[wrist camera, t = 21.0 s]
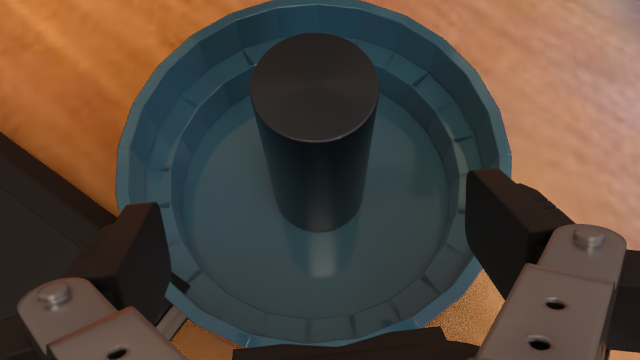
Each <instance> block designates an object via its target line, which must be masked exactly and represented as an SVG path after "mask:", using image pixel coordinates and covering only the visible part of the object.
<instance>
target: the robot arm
mask: <svg viewBox="0 0 640 360" xmlns="http://www.w3.org/2000/svg"><path fill="white" fill-rule="evenodd" d="M465 233H466V239H467V243H468V246H469V248H470V250H471V251H472V253H473V254H474V256H475V257H476V258H477V260H478V261H479V263H480V264H481V266H482V267H483V269H484V270H485V272H486V273H487V275H488V276H489V278H490V279H491V281H492V282H493V284H494V285H495V286H496V288H497V289H498V291H499V292H500V294H501V295H502V297H503V298H504V300H505V302H504V304H503V306H502V308H501V310H500V312H499V313H498V315H497V317H496V319H495V321H494V323H493V325H492V326H491V328H490V330H489V332H488V334H487V336H486V338H485V339H484V341H483V343H482V345H481V347H480V346H477V345H472V344H468V343H463V342H456V341H447V340H446V338H445V336H444V333H443V331H442V329H441V327H440V326H438V327H429V328H420V329H412V330H403V331H394V332H388V333H385V334H381V335H378V336H375V337H371V338H368V339H365V340H361V341H358V342H355V343H351V344H348V345H344V346H339V347H329V346H313V345H297V344H278V345H269V346H260V347H251V348H242V349H233V356H232V360H609V358H610V352H611V350H619V351H628V352H638V353H640V251H635V250H627V249H626V245H627V243H626V241H625V239H624V238H623V237H622V236H621V235H619V234H618V233H616V232H614V231H612V230H609V229H607V228H603V227H600V226H595V225H588V224H576V223H574V222H573V221H572V220H571V219H570V218H569V217H567V216H566V215H565V214H564V213H563V212H562V211H561V210H559V209H558V208H557V209H556V206H555V205H554V204H552V203H551V202H550V201H548V199H547V198H546V197H544V196H543V195H542V194H541V193H540V192H539V191H537V190H535V189H533V188H530V187H528V186H526V185H523V184H521V183H520V184H516V183H515V182H514V181H512V180H511V179H510V178H509V177H508V176H507V175H506V174H505V173H504V172H503V171H502V170H500V169H499V168H490V169H480V170H470V171H469V172H468V173H467V177H466V201H465ZM170 279H171V258H170V253H169V248H168V243H167V239H166V234H165V229H164V224H163V219H162V215H161V210H160V207H159V205H158V203H157V202H149V203H139V204H129V205H126V206H125V207H124V209H123V210H122V212H121V213H120V215H119V216H118V218H117V220H116V221H115V223H114V224H113V225H106V226H105V227H103V228H102V229H100V230H99V231H98V232H96V233H95V234H93V235H92V236H91V237H90V239H89V240H88V242H87V243H86V244H85V246H84V249H82V250H81V252H80V253H79V255H78V258H76V259H75V260H74V262H73V263H72V265H71V266H70V268H69V269H68V271H67V272H66V274H65V275H64V276H63V278H62V279H58V280H54V281H51V282H48V283H45V284H43V285H40V286H38V287H36V288H35V289H33V290H31V291H30V292H28V293H27V294H26V295H24V296H23V297H22V298H21V300H20V301H19V302H18V305H17V311H18V315H15V316H12V317H9V318H5V319H2V320H0V360H188V359H187V358H186V357H185V356H184V355H183V354H182V353H181V352H180V351H179V350H178V349H177V348H176V347H175V346H174V345H173V344H172V343H171V342H170V341H169V340H168V339H167V338H166V337H165V336H164V335H162V334H161V333H160V332H159V331H158V330H157V329H156V328H155V327H154V326H155V323H156V320H157V317H158V315H159V312H160V309H161V306H162V303H163V300H164V297H165V294H166V291H167V288H168V285H169V282H170Z"/></svg>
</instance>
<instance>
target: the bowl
mask: <svg viewBox="0 0 640 360" xmlns="http://www.w3.org/2000/svg"><path fill="white" fill-rule="evenodd" d="M304 33H327V34H332V35H336V36H339V37H342V38H344V39H347V40H349V41H350V42H352V43H354V44H355V45H357V46H358V47H359V48H361V49H362V50H363V51H364V52H365V53H366V54H367V56H368V57H369V58H370V60H371V61H372V63H373V65H374V66H375V69H376V71H377V74H378V78H379V86H380V88H379V98H378V104H377V111H376V117H375V123H374V129H373V136H372V142H371V148H370V154H369V161H368V167H367V173H366V179H365V186H364V192H363V198H362V202H361V205H360V207H359V209H358V211H357V213H356V214H355V215H354V217H353V218H352V219H351V220H350V221H348V222H347V223H346V224H344V225H343V226H341V227H339V228H337V229H334V230H331V231H326V232H311V231H306V230H303V229H301V228H299V227H297V226H295V225H293V224H292V223H290V222H289V221H288V220H287V219H286V218H285V217H284V215H283V214H282V213H281V211H280V209H279V207H278V205H277V201H276V198H275V194H274V190H273V186H272V182H271V178H270V174H269V170H268V166H267V162H266V158H265V154H264V150H263V146H262V142H261V138H260V134H259V130H258V126H257V122H256V118H255V114H254V110H253V106H252V102H251V97H250V81H251V77H252V73H253V71H254V69H255V67H256V65H257V63H258V61H259V60H260V58H261V57H262V56H263V55H264V54H265V53H266V52H267V51H268V50H269V49H270V48H271V47H272V46H274V45H275V44H277V43H278V42H280V41H282V40H284V39H286V38H289V37H292V36H295V35H299V34H304ZM490 168H499V169H500V170H502V171H503V172H504V173H505V174H506V175H507V176H508V177H509V178H510V179H511V168H512V156H511V151H510V147H509V143H508V139H507V136H506V132H505V128H504V124H503V121H502V117H501V113H500V111H499V108H498V106H497V105H496V103H495V101H494V99H493V98H492V96H491V94H490V93H489V91H488V89H487V88H486V86H485V84H484V83H483V81H482V79H481V77H480V76H479V74H478V72H477V71H476V70H475V69H474V68H473V67H472V66H471V65H470V64H469V63H468V62H467V61H466V60H465V59H464V58H463V57H462V56H461V55H460V54H459V53H458V52H457V51H456V50H455V49H454V48H453V47H452V46H451V45H450V44H449V43H448V42H447V41H446V40H444V38H442V37H440V36H439V35H437V34H436V33H434V32H432V31H431V30H429V29H427V28H426V27H424V26H422V25H421V24H419V23H418V22H416V21H414V20H413V19H411V18H409V17H408V16H405V15H403V14H400V13H397V12H394V11H391V10H388V9H385V8H382V7H379V6H377V5H374V4H371V3H368V2H365V1H364V2H363V1H360V0H274V1H273V0H272V1H269V2H266V3H262V4H259V5H256V6H253V7H249V8H246V9H243V10H240V11H236V12H233V13H231V14H228V15H227V16H225V17H223V18H221V19H220V20H218V21H216V22H214V23H212V24H211V25H209V26H207V27H205V28H204V29H202V30H200V31H198V32H196V33H195V34H193V35H192V36H190V37H189V38H188V39H187V40H186V41H184V42H183V43H182V44H181V45H180V46H179V47H178V48H177V49H176V50H175V51H174V52H172V53H171V54H170V55H169V56H168V57H167V58H166V59H165V60H164V61H163V62H161V63H160V64H159V65H158V66H157V68H156V69H155V71H154V72H153V74H152V75H151V77H150V78H149V80H148V81H147V83H146V84H145V86H144V87H143V89H142V90H141V92H140V93H139V95H138V96H137V98H136V99H135V101H134V102H133V105H132V107H131V110H130V113H129V116H128V118H127V121H126V124H125V127H124V130H123V133H122V136H121V139H120V142H119V145H118V149H117V170H116V190H115V194H116V200H117V204H118V208H119V212H120V213H121V212H122V210H123V209H124V207H125V206H126V205H129V204H139V203H149V202H157V203H158V205H159V207H160V210H161V215H162V219H163V224H164V229H165V234H166V239H167V243H168V248H169V253H170V258H171V271H172V272H173V273H174V274H176V275H177V276H178V277H180V278H181V279H182V280H184V281H185V282H186V283H188V284H189V285H190V288H188V289H187V290H186V291H184V293H183V292H182V291H181V290H180V289H179V288H178V287H177V285H176V284H175V282H174V280H173V278H172V277H171V279H170V282H169V285H168V288H167V291H166V294H165V298H166V299H167V300H169V301H170V302H171V303H172V304H173V305H174V306H175V307H176V308H177V309H178V310H180V311H181V312H182V313H183V314H184V315H185V316H186V317H187V318H188V319H190V320H191V321H192V322H193V323H194V324H196V325H197V326H199V327H200V328H202V329H204V330H205V331H207V332H208V333H210V334H212V335H213V336H215V337H216V338H218V339H220V340H222V341H224V342H226V343H228V344H230V345H232V346H234V347H236V348H239V349H242V348H251V347H260V346H269V345H278V344H297V345H313V346H329V347H339V346H344V345H348V344H351V343H355V342H358V341H361V340H365V339H368V338H371V337H375V336H378V335H381V334H385V333H388V332H394V331H403V330H412V329H420V328H424V327H426V326H427V325H428V324H429V323H431V322H432V321H433V320H434V319H436V318H437V317H438V316H440V315H441V314H442V313H443V312H444V311H446V310H447V309H448V308H449V307H450V306H451V305H453V304H454V303H455V302H456V301H457V300H459V299H460V298H461V297H462V296H463V295H464V294H465V293H466V291H467V290H468V289H469V287H470V286H471V284H472V283H473V282H474V280H475V279H476V277H477V276H478V274H479V273H480V272H481V270H482V269H483V267H482V266H481V264H480V263H479V261H478V260H477V258H476V257H475V256H474V254H473V253H472V251H471V250H470V248H469V246H468V243H467V239H466V233H465V201H466V177H467V173H468V172H469V171H470V170H480V169H490Z"/></svg>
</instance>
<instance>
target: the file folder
mask: <svg viewBox="0 0 640 360" xmlns="http://www.w3.org/2000/svg"><path fill="white" fill-rule="evenodd" d="M116 220H117V217H115V216H114V215H113V214H111V213H110V212H108V211H107V210H106V209H104V208H103V207H102V206H100V205H99V204H98V203H96V202H95V201H94V200H92V199H91V198H89V197H88V196H87V195H85V194H84V193H83V192H81V191H80V190H79V189H77V188H76V187H74V186H73V185H72V184H70V183H69V182H68V181H66V180H65V179H64V178H62V177H61V176H60V175H58V174H57V173H55V172H54V171H53V170H51V169H50V168H49V167H47V166H46V165H45V164H43V163H42V162H40V161H39V160H38V159H36V158H35V157H34V156H32V155H31V154H30V153H28V152H27V151H26V150H24V149H23V148H21V147H20V146H19V145H17V144H16V143H15V142H13V141H12V140H11V139H9V138H8V137H6V136H5V135H4V134H2V133H1V132H0V320H2V319H5V318H9V317H12V316H15V315H18V311H17V305H18V302H19V301H20V300H21V298H22V297H23V296H24V295H26V294H27V293H28V292H30V291H31V290H33V289H35V288H36V287H38V286H40V285H43V284H45V283H48V282H51V281H54V280H58V279H62V278H63V276H64V275H65V274H66V272H67V271H68V269H69V268H70V266H71V265H72V263H73V262H74V260H75V259H76V258H78V255H79V253H80V252H81V250H82V249H84V246H85V244H86V243H87V242H88V240H89V239H90V237H91V236H92V235H93V234H95V233H96V232H98V231H99V230H100V229H102V228H103V227H105V226H106V225H113V224H114V223H115V221H116ZM171 277H172V278H173V280H174V282H175V284H176V285H177V287H178V288H179V289H180V290H181V291H182V292H183V293H184V291H186V290H187V289H188V288H190V285H189V284H188V283H186V282H185V281H184V280H182V279H181V278H180V277H178V276H177V275H176V274H174V273H173V272H172V271H171ZM187 319H188V318H187V317H186V316H185V315H184V314H183V313H182V312H181V311H180V310H178V309H177V308H176V307H175V306H174V305H173V304H172V303H171V302H170V301H169V300H167V299H166V298H165V297H164V300H163V303H162V306H161V309H160V312H159V315H158V317H157V320H156V323H155V326H154V327H155V328H156V329H157V330H158V331H159V332H160V333H161V334H162V335H164V336H165V337H166V338H167V339H168V340H169V341H171V339H172V338H173V337H174V336H175V334H176V333H177V332H178V330H179V329H180V328H181V327H182V325H183V324H184V323H185V321H186V320H187Z"/></svg>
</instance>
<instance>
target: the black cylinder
mask: <svg viewBox="0 0 640 360" xmlns="http://www.w3.org/2000/svg"><path fill="white" fill-rule="evenodd" d="M379 88H380V86H379V78H378V74H377V71H376V69H375V66H374V65H373V63H372V61H371V60H370V58H369V57H368V56H367V54H366V53H365V52H364V51H363V50H362V49H361V48H359V47H358V46H357V45H355V44H354V43H352V42H350V41H349V40H347V39H344V38H342V37H339V36H336V35H332V34H327V33H304V34H299V35H295V36H292V37H289V38H286V39H284V40H282V41H280V42H278V43H277V44H275V45H274V46H272V47H271V48H270V49H269V50H268V51H267V52H266V53H265V54H264V55H263V56H262V57H261V58H260V60H259V61H258V63H257V65H256V67H255V69H254V71H253V73H252V77H251V81H250V97H251V102H252V106H253V110H254V114H255V118H256V122H257V126H258V130H259V134H260V138H261V142H262V146H263V150H264V154H265V158H266V162H267V166H268V170H269V174H270V178H271V182H272V186H273V190H274V194H275V198H276V201H277V205H278V207H279V209H280V211H281V213H282V214H283V215H284V217H285V218H286V219H287V220H288V221H289V222H290V223H292V224H293V225H295V226H297V227H299V228H301V229H303V230H306V231H311V232H326V231H331V230H334V229H337V228H339V227H341V226H343V225H344V224H346V223H347V222H348V221H350V220H351V219H352V218H353V217H354V215H355V214H356V213H357V211H358V209H359V207H360V205H361V202H362V198H363V192H364V186H365V179H366V173H367V167H368V161H369V154H370V148H371V142H372V136H373V129H374V123H375V117H376V111H377V104H378V98H379Z"/></svg>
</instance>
